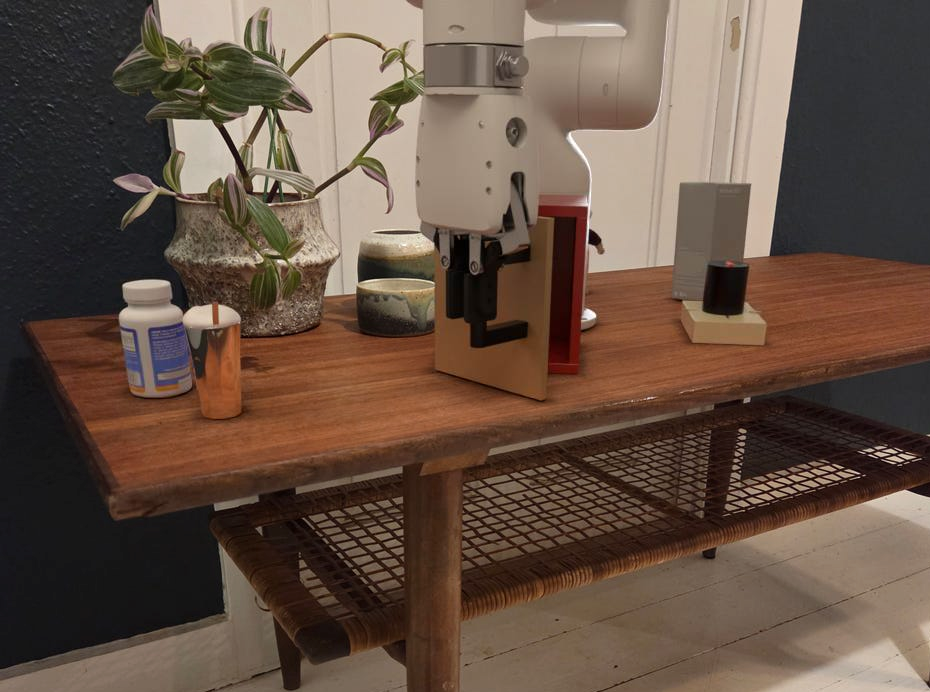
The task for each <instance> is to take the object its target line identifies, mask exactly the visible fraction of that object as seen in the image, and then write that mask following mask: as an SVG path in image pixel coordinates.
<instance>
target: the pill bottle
mask: <svg viewBox="0 0 930 692" xmlns="http://www.w3.org/2000/svg"><path fill="white" fill-rule="evenodd" d="M121 288H122V299H124V302H125V303H127V307H125V308H123V309H121V311H120V312H119V315H118V323H119V331H120V336H121V343H122V349H123V356H124V360H125V361H124V362H125V369H126V377H127V381H128V388H129V390H130V392H131V394H132V395H133V396H137V397H140V398H145V399H147V398H148V399H149V398H150V399H163V398H164V399H165V398H171V397H175V396H179V395H182V394H184V393H187V392H188V391H190V390H191V389H192V387H193V381H192V373H191V365H190V355H189V348H188V344H187V339H186V335H185V330H184V326H183V322H182V319H183V316H184V313H183V310H182V309H181V308H180V307H179V306H177V305H175V304H172V302H171V300H172V299H173V290H172V285H171V282H170V281H168V280H164V279H140V280H139V279H138V280H133V281H128V282H125V283H123V284H122V287H121Z"/></svg>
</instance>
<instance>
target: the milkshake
mask: <svg viewBox="0 0 930 692" xmlns="http://www.w3.org/2000/svg"><path fill="white" fill-rule="evenodd" d="M182 322H183V326H184V330H185V335H186V341H187V349H188V353H189V357H190V360H191V364H192V370H193V375H194V381H195V386H196V391H197V396H198V401H199V406H200V412H201V415H202V416H203V418H207V419H211V420H225V419H230V418H234V417H237V416H238V415H240V414H241V413H242V369H241V368H242V367H241V366H242V365H241V344H242V343H241V337H242V336H241V334H242V331H241V329H242V319H241V316H240V314H239V313H238V311H236V310H235V309H233V308H232V307H230V306H226V305H223V304H219V302H218V301H213V302H211V304H206V305H195V306H192V307H191V308H190V309H188V310H187V311H186V312H185V313H184V314H183V319H182Z"/></svg>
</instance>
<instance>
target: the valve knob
mask: <svg viewBox="0 0 930 692" xmlns="http://www.w3.org/2000/svg"><path fill="white" fill-rule="evenodd" d="M749 271H750V264H749V263H747V262H744V261H743V262H737V261H710V262H707V266H706V275H705V284H704V293H703V302H702V311H704V312H707V313H711V314H717V315H738V314H742V313H743V311H744V303H746V302H745V301H746V296H747V295H746V294H747V287H748V279H749Z"/></svg>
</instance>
